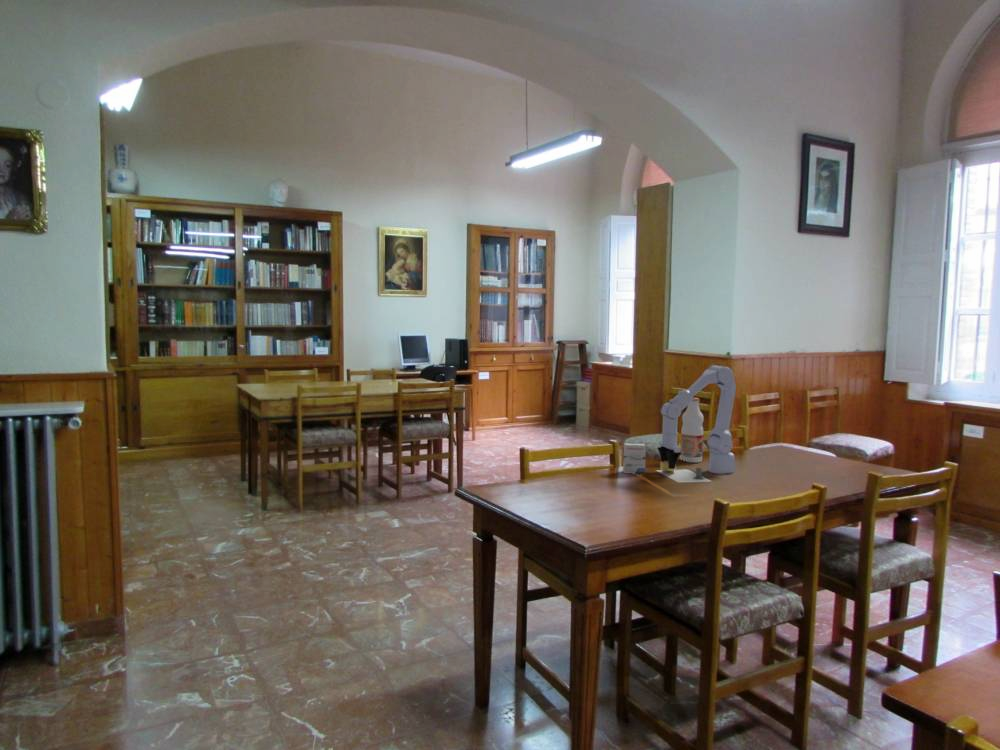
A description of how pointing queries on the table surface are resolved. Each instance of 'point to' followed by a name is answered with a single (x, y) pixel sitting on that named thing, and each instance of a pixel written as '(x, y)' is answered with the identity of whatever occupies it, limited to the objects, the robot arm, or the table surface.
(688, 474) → the board
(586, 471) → the table surface
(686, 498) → the table surface
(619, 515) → the table surface
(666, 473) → the hub
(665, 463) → the ring
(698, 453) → the fruit juice
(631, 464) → the ink box
